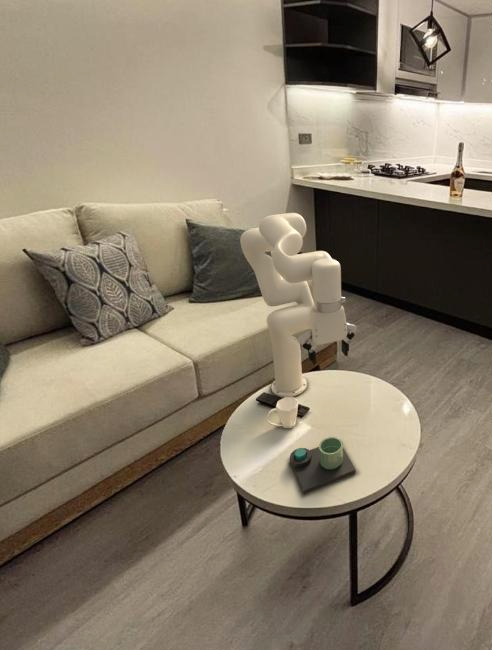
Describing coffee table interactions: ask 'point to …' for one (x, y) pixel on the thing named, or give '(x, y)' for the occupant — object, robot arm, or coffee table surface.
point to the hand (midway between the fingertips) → (329, 357)
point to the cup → (286, 412)
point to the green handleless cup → (331, 452)
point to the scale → (318, 470)
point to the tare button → (300, 454)
